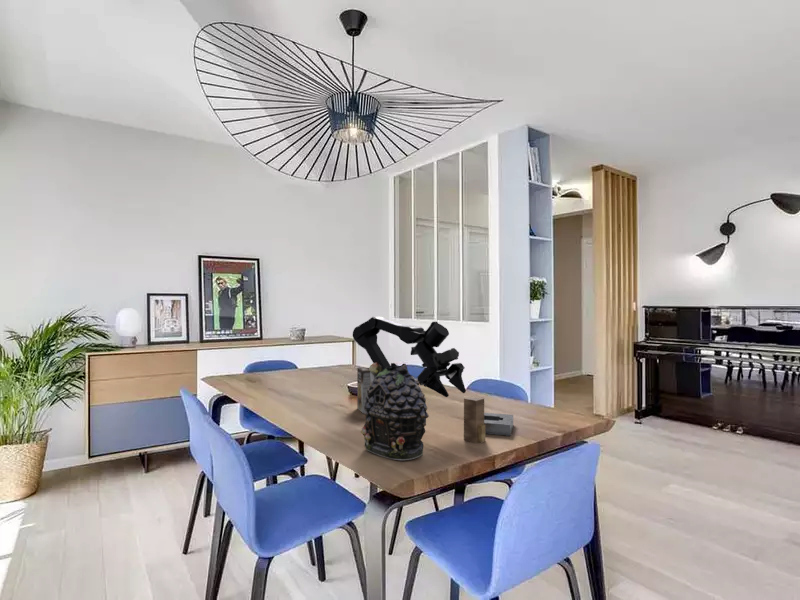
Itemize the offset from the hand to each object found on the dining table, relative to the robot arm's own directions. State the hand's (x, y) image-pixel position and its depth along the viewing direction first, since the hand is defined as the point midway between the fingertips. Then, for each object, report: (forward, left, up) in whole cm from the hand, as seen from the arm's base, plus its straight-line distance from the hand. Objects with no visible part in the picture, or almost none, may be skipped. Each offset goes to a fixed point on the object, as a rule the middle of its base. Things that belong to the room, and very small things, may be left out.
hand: (456, 394), depth 141 cm
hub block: (+15, 0, -13) cm, 20 cm away
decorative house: (-25, -4, -13) cm, 29 cm away
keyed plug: (+2, -6, -13) cm, 15 cm away
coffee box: (-8, +44, -13) cm, 47 cm away
